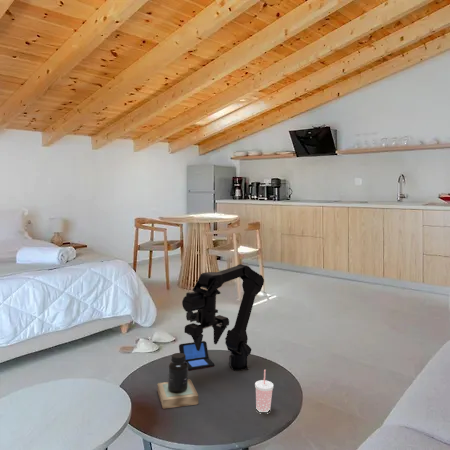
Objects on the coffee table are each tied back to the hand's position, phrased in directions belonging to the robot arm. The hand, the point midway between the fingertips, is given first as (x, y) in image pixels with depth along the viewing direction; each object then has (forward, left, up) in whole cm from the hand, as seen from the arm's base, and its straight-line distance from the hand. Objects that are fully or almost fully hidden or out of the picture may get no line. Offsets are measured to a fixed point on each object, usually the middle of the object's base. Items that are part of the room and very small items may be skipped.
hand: (206, 347), depth 156 cm
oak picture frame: (+13, +10, -13) cm, 21 cm away
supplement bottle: (+13, +10, -10) cm, 19 cm away
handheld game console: (0, -15, -14) cm, 20 cm away
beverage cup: (-13, +25, -13) cm, 31 cm away
